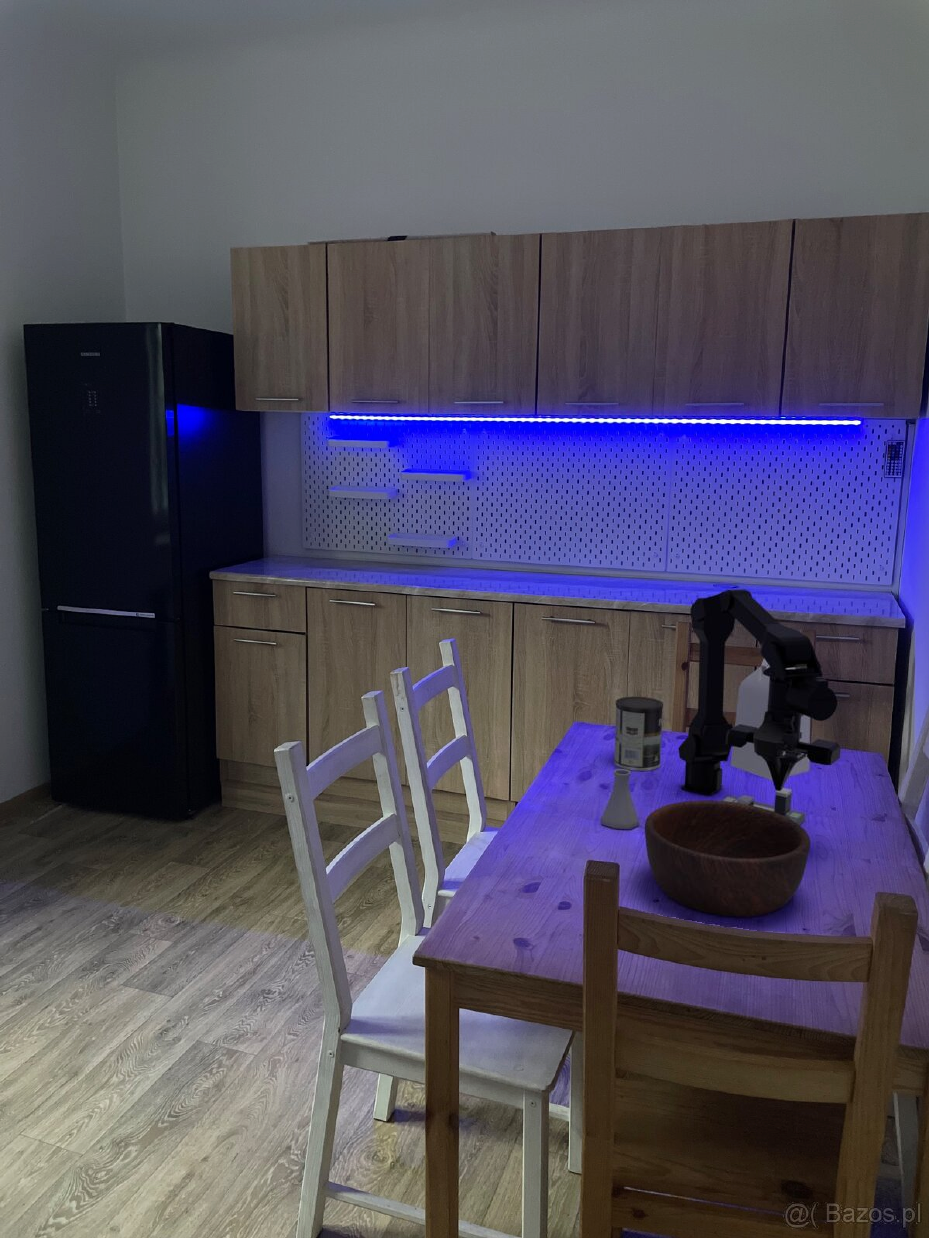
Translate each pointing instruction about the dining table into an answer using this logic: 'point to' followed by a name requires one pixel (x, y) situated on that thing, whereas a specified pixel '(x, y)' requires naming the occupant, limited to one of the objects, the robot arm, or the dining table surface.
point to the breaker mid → (746, 800)
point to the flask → (620, 804)
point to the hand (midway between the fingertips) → (778, 790)
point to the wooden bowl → (726, 856)
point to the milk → (752, 714)
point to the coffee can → (638, 733)
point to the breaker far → (783, 801)
